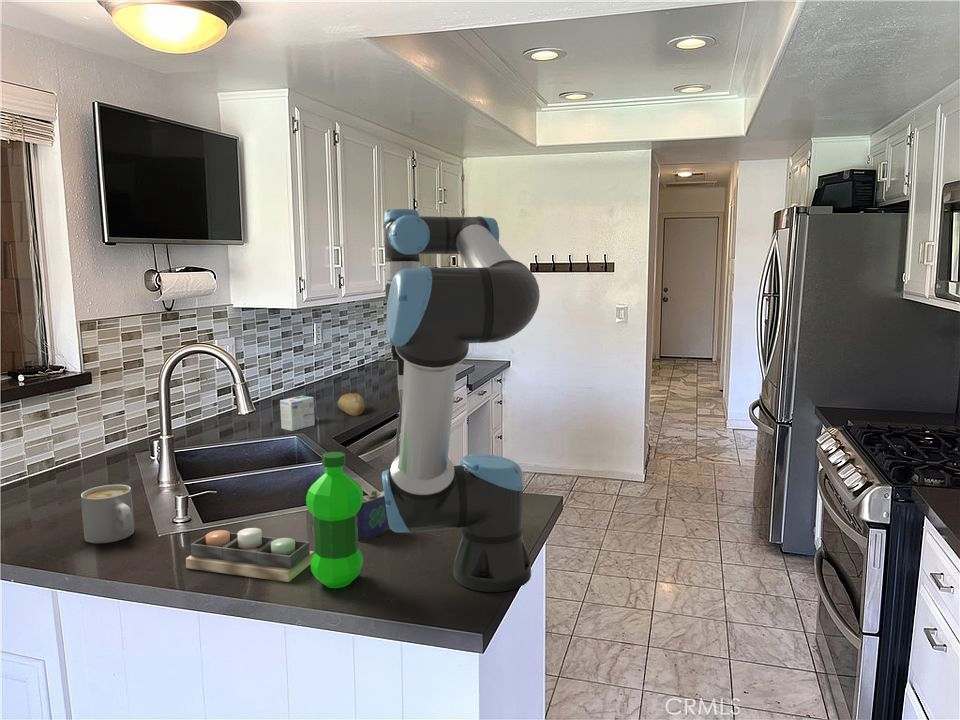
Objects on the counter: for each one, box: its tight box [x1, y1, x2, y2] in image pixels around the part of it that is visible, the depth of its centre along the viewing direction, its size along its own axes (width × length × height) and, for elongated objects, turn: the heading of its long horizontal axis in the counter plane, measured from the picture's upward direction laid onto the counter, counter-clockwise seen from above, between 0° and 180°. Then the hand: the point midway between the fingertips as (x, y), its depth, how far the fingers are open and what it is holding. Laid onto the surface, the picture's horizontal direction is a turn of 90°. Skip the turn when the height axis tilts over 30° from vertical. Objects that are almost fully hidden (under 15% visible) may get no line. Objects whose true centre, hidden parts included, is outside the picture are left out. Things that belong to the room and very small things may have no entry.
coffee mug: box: [80, 484, 135, 544], centre depth 156 cm, size 13×10×10 cm
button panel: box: [185, 530, 315, 583], centre depth 142 cm, size 23×10×4 cm, turn 74°
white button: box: [236, 527, 263, 549], centre depth 141 cm, size 5×5×2 cm
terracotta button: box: [205, 529, 231, 547], centre depth 143 cm, size 5×5×2 cm
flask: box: [357, 488, 390, 543], centre depth 156 cm, size 9×3×11 cm, turn 144°
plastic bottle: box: [305, 451, 364, 589], centre depth 132 cm, size 10×10×25 cm
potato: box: [337, 392, 366, 417], centre depth 280 cm, size 10×15×8 cm, turn 33°
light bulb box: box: [279, 395, 316, 432], centre depth 257 cm, size 11×7×11 cm, turn 144°
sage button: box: [271, 537, 296, 556], centre depth 139 cm, size 5×5×2 cm
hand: (404, 388), depth 156 cm, fingers closed
